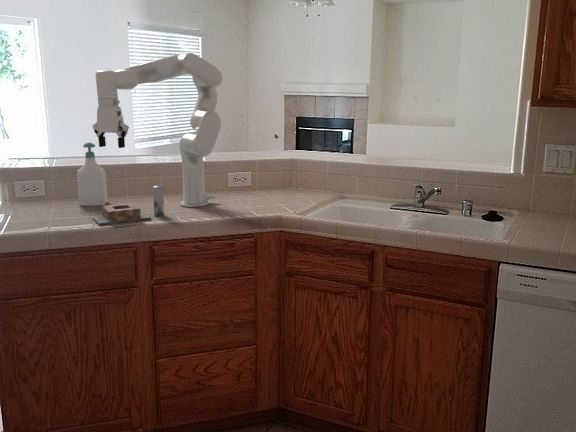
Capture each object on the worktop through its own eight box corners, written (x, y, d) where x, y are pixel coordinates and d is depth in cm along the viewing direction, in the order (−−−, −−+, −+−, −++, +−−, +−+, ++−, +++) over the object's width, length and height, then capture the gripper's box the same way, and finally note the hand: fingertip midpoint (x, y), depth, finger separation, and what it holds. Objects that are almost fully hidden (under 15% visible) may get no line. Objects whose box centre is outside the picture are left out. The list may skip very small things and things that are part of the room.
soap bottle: (108, 201, 250) (104, 141, 244) (105, 205, 242) (100, 143, 236) (83, 201, 249) (78, 141, 242) (79, 205, 241) (74, 143, 234)
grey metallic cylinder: (162, 213, 226) (161, 185, 223) (165, 215, 223) (164, 186, 220) (153, 214, 224) (151, 186, 221) (155, 216, 221) (154, 187, 218)
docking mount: (143, 213, 226) (142, 201, 225) (151, 219, 216) (150, 207, 215) (92, 219, 217) (91, 206, 216) (98, 225, 206) (97, 213, 205)
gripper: (132, 103, 213) (135, 146, 217) (97, 102, 219) (101, 145, 224) (119, 103, 206) (123, 149, 210) (84, 103, 213) (88, 147, 217)
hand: (112, 147), depth 217 cm, fingers open, 9 cm apart
